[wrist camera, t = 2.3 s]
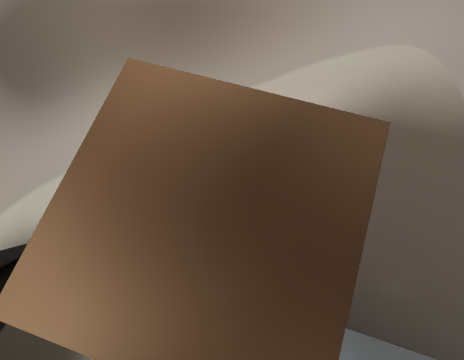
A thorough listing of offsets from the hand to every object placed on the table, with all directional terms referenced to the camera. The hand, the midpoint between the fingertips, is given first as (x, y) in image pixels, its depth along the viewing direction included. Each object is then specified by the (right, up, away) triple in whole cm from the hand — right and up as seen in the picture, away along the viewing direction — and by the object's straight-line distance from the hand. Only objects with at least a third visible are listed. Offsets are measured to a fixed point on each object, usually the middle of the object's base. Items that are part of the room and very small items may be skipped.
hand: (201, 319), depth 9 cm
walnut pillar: (+1, -2, +9) cm, 9 cm away
